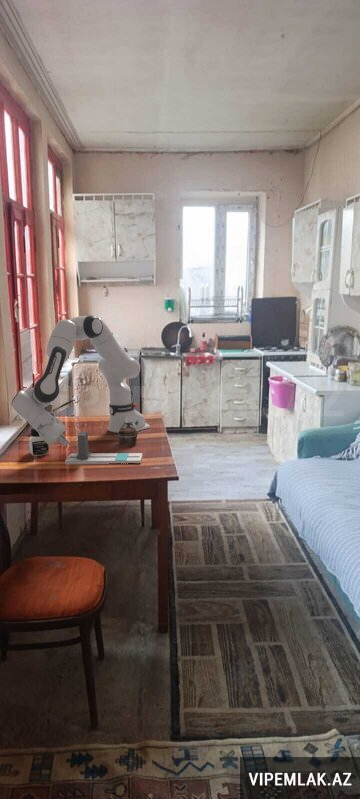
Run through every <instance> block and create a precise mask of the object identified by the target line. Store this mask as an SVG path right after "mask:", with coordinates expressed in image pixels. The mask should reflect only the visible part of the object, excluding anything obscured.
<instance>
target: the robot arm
mask: <svg viewBox="0 0 360 799" xmlns="http://www.w3.org/2000/svg"><path fill="white" fill-rule="evenodd" d="M83 340H90V343H91V344H92V345H93V347H94V348H95V350H96V352H97V353H98V355H99V356H100V357H101V359H100V361H99V364H98V369H99V372H100V373H101V374H102V375H103V376H104V378H105V380H106V383H107V387H108V392H109V404H108V406H109V407H108V409H109V423H108V428H107V430H108V431H109V432H111V433H117V434H118V432H119V429H120V428H121V427H122V424H123V423H130V422H133V424H134V427H135V428H136V430H137V432H139V431H142V430H145V429H149V428H151V427H150V424H149V423H147V422H146V419H145V416H144V415H143V414H142V413H140V412H139V411H138V410H136V409H137V408H138V407H139V404H137V403H133V402H132V392H131V390H132V389H131V387H130V386H129V385H128V384H127V382H126V380H125V379H130V380H131V379H135V378H137V377H138V376H139V374H140V372H141V364H140V362H139V361H138V360H137V359H136V358H133V357H132V356H131V355H129V353H128V352H126V351H125V349H123V347H122V346H121V345H120V344H119V342H118V341H117V340H116V337H115V336H114V334H113V332H112V330H111V329H110V327H109V326H108V325H107V323H106V322H105V321H104V320H103V319H102V318H101V317H98V316H96V315H91V314H89V315H79V316H75V317H68V318H66V319H64V318H63V319H60V320H59V321H58V322H56V324H55V326H54V328H53V330H52V331H51V334H50V336H49V339H48V342H47V347H46V354H47V356H48V361H47V364H46V368H45V370H44V373H43V375H42V377H40V378H39V379H38V380H37V381H36V383H35V385H34V387H32V388H28V389H24V390H18V391H17V392H16V394H15V395H14V397H13V398H12V400H11V407H12V409H13V410H14V411H15V413H16V414H18V415H19V416H20V417H21V418H22V420H23V419H24V420H26V421H27V423H28V424H29V426H31V427H32V428H34V429H35V430H36V431H37V432H39V436H40V437H41V438H42V439H43V440H44V441H45V442H46V443H47V444H48V446H50V447H51V446H52V445H53V444H54V443H55V442H57V443H59V444H61V445H62V446H63V447H66V446H67V445H68V444H69V443H70V441H69V440H68V439H67V438H66V436H65V435H64V433H65V431H66V430H67V426H66V425H65V424H64V423H63V422H62V421H61V420H60V419H59V418H58V417H57V416H56V414H55V413H54V412H53V413H49V412H47V411H46V410H45V409H44V408H45V407H47V406H49V405H52V404H53V402H54V401H55V400H56V399H57V398H58V397H59V394H60V384H59V383H60V382H59V379H60V375H61V373H62V369H63V366H64V364H65V362H66V361H67V360H68V359H69V358H70V356H71V354H72V352H73V348H74V345H75V343H76V341H83ZM135 408H136V409H135ZM55 416H56V417H55Z"/></svg>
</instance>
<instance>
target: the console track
mask: <svg viewBox="0 0 360 799" xmlns="http://www.w3.org/2000/svg"><path fill="white" fill-rule="evenodd" d="M77 455H78V453H70V454H69V455H68V456H67V457H66V459H65V461H64V464H65V465H110V464H109V463H121V464H120V465H129V464H128V463H142V461H141V460H143V457H144V456H143V455H144V454H143V452H137V453H136V452H133V453H131V452H130V453H129V452H119V453H118V452H115V453H114V452H113V453H105V452H102V453H99V452H98V453H97V452H96V453H93V452H91V455H90V456H89V458H88V459H76V456H77ZM122 463H123V464H122ZM124 463H125V464H124ZM126 463H127V464H126Z"/></svg>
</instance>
